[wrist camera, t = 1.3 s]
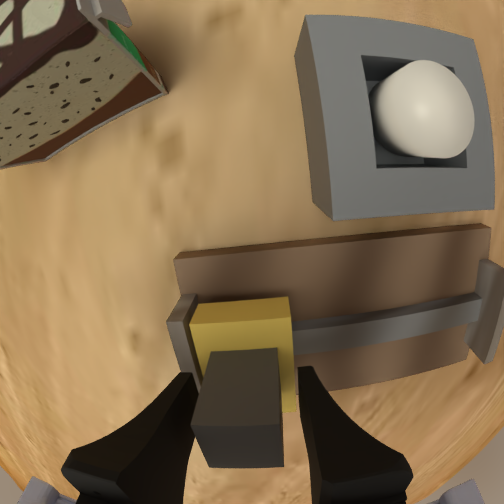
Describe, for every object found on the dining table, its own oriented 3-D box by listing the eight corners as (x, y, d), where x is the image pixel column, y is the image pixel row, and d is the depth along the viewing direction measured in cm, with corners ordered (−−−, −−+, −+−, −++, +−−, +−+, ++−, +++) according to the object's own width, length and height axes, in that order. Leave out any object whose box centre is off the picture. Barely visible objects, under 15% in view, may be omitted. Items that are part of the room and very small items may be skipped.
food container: (167, 2, 12) (89, -96, 2) (194, 83, 14) (99, -4, 4) (18, 96, 14) (-90, 90, 4) (32, 170, 15) (-87, 197, 6)
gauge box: (426, 62, 12) (473, 39, 7) (441, 193, 15) (494, 209, 10) (294, 56, 13) (305, 14, 8) (312, 201, 15) (333, 221, 10)
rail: (480, 223, 15) (521, 240, 11) (458, 350, 18) (484, 383, 14) (179, 252, 16) (153, 282, 12) (211, 387, 19) (201, 431, 15)
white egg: (429, 81, 10) (465, 68, 7) (439, 157, 11) (478, 159, 8) (359, 76, 10) (384, 54, 7) (370, 157, 11) (399, 157, 8)
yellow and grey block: (286, 289, 15) (300, 391, 8) (293, 378, 17) (301, 480, 10) (201, 296, 15) (158, 394, 8) (221, 382, 17) (201, 481, 10)
